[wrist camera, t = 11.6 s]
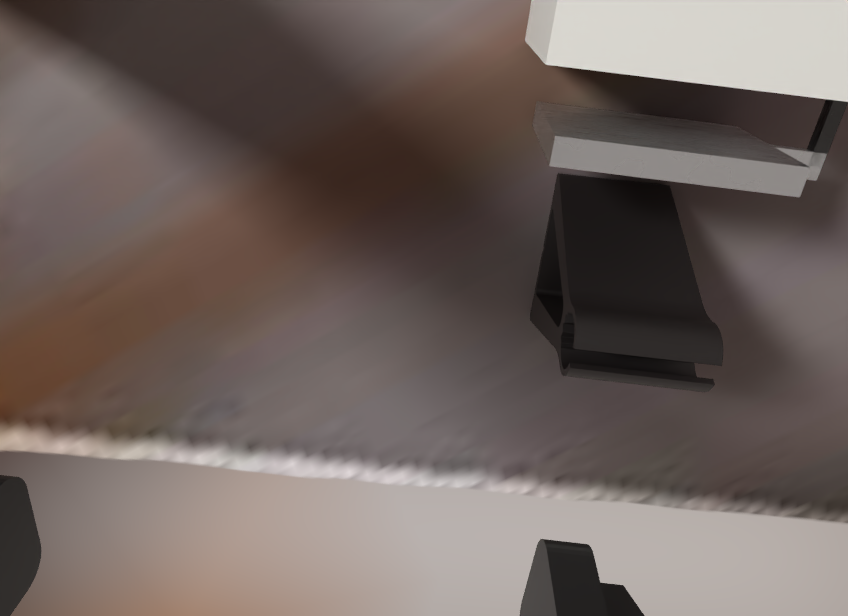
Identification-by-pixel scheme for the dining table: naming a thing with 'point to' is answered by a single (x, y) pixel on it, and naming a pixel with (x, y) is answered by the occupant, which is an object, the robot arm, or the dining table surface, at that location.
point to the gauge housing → (701, 41)
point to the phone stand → (622, 287)
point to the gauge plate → (680, 148)
